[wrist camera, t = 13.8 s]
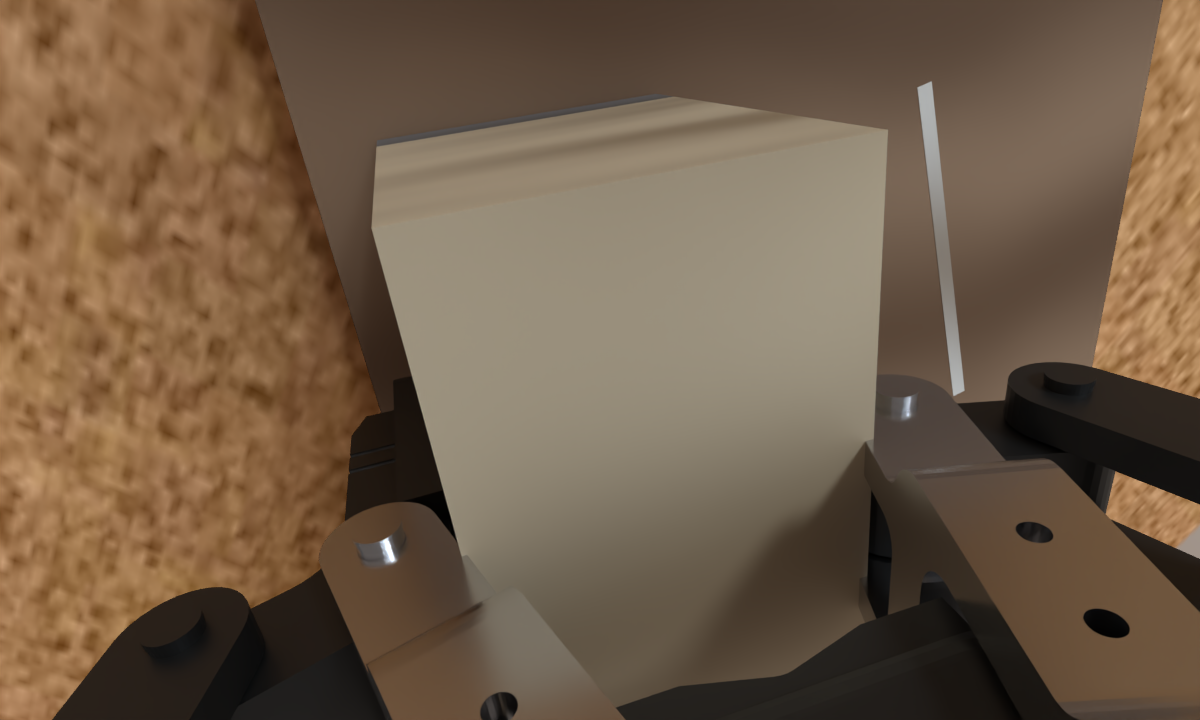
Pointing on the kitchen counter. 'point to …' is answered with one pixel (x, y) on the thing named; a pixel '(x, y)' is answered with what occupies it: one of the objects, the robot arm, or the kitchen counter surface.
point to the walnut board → (790, 86)
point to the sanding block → (649, 371)
